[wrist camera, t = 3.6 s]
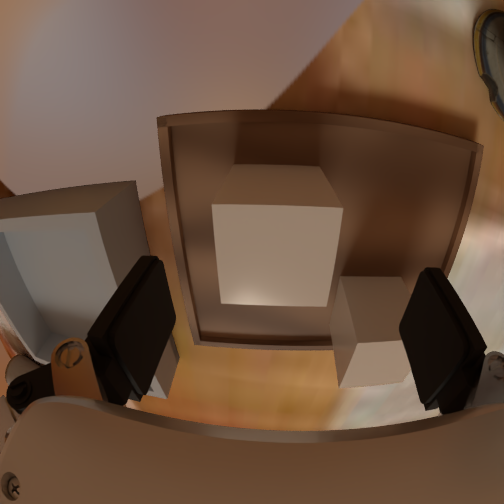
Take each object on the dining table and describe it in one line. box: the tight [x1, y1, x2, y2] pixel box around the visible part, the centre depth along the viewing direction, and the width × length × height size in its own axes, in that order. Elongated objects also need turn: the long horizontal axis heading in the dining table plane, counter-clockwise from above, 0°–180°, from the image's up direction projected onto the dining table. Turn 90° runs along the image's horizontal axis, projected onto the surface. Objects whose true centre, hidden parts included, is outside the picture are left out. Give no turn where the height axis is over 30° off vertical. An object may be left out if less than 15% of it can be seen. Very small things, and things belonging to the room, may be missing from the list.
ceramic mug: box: [5, 355, 41, 385], centre depth 33 cm, size 11×8×8 cm
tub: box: [0, 181, 179, 399], centre depth 20 cm, size 18×18×5 cm
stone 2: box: [329, 276, 411, 388], centre depth 17 cm, size 5×5×6 cm
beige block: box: [212, 164, 343, 307], centre depth 14 cm, size 5×5×6 cm
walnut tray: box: [157, 110, 484, 350], centre depth 18 cm, size 18×20×1 cm
